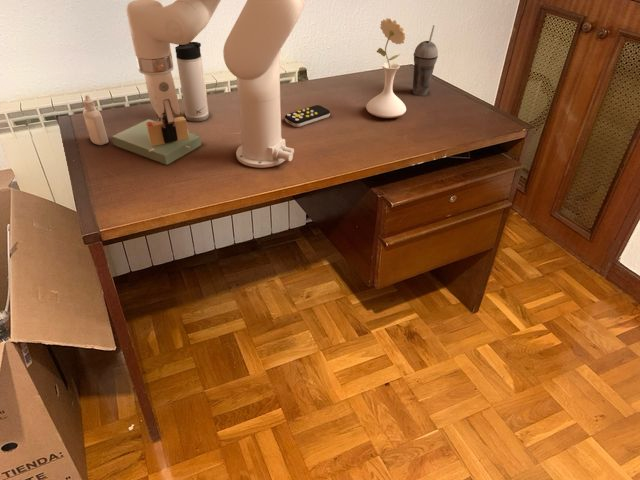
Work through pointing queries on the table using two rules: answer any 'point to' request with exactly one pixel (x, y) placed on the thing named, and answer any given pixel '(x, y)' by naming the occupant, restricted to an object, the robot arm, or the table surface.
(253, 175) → the table surface
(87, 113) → the eye dropper bottle
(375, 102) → the flower in vase
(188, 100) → the travel mug
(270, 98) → the robot arm
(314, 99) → the table surface
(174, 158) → the green flat block
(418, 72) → the beverage cup
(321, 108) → the remote control
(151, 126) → the orange block
